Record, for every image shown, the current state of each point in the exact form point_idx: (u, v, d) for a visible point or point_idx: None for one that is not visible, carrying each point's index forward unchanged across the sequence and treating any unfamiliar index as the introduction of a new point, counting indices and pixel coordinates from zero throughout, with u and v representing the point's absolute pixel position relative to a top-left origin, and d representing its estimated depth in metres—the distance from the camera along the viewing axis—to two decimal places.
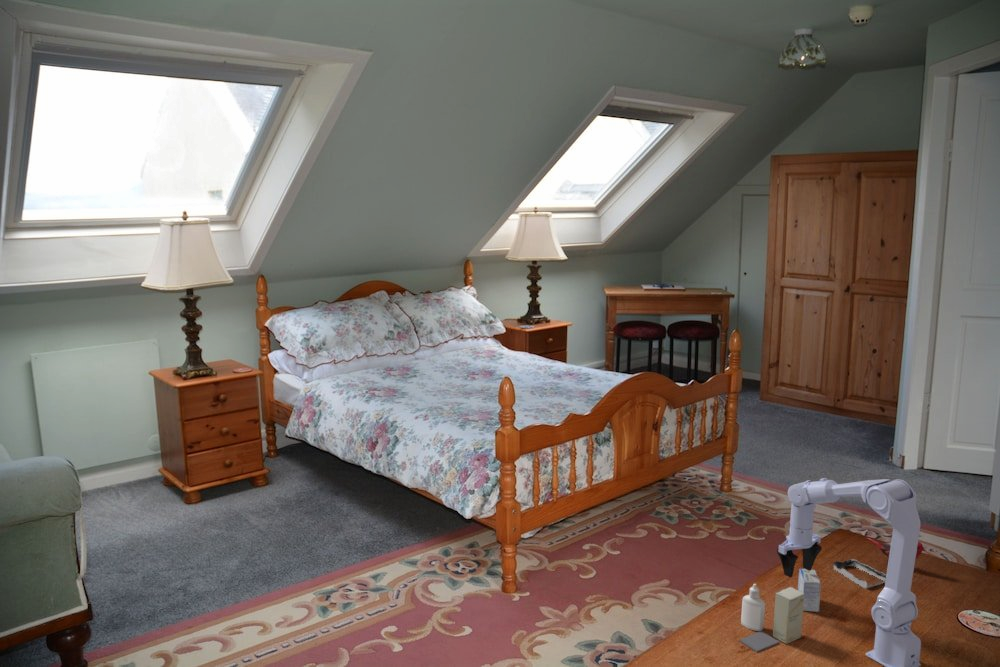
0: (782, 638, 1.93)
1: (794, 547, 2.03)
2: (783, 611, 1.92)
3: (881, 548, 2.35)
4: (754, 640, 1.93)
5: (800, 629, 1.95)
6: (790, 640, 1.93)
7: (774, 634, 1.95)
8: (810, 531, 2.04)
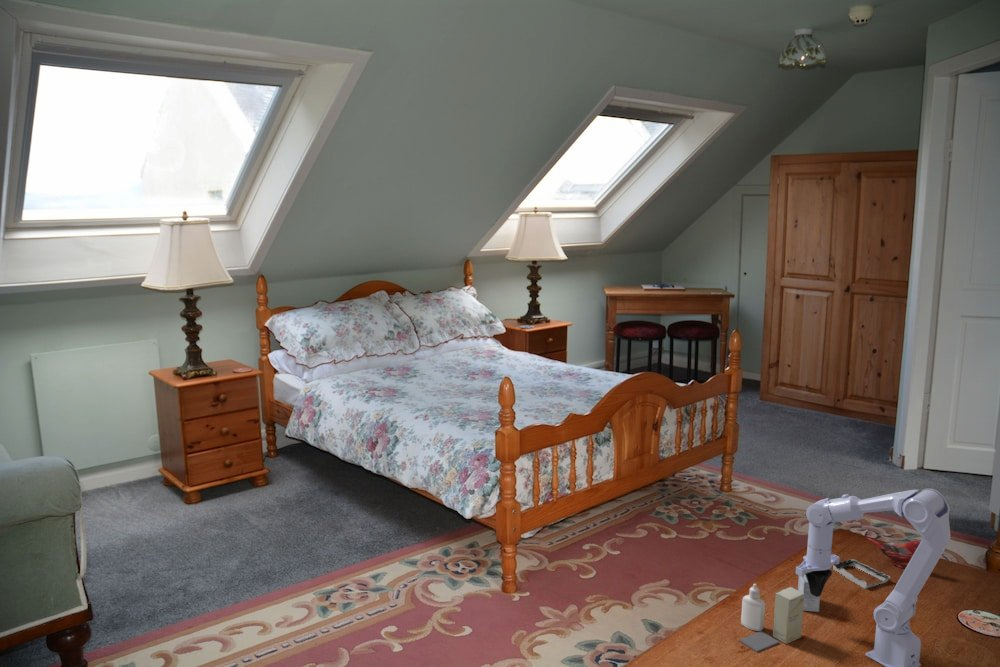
0: (782, 638, 1.93)
1: (812, 569, 1.94)
2: (783, 611, 1.92)
3: (881, 548, 2.35)
4: (754, 640, 1.93)
5: (800, 629, 1.95)
6: (790, 640, 1.93)
7: (774, 634, 1.95)
8: (829, 552, 1.95)
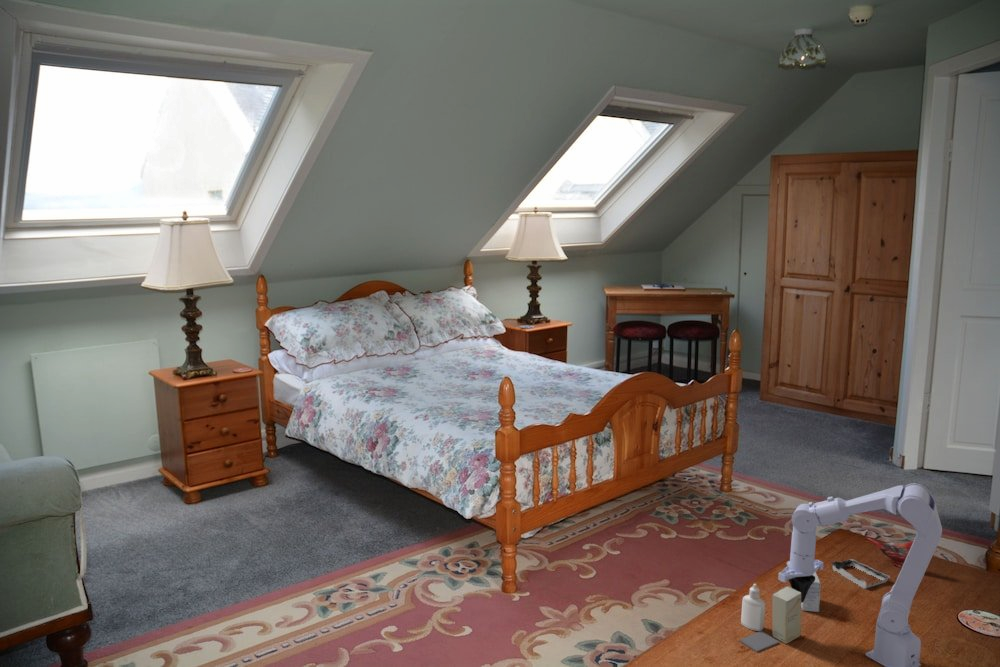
0: (782, 638, 1.93)
1: (795, 575, 1.91)
2: (781, 612, 1.92)
3: (881, 548, 2.35)
4: (754, 640, 1.93)
5: (800, 627, 1.95)
6: (790, 639, 1.93)
7: (774, 634, 1.95)
8: (812, 558, 1.91)
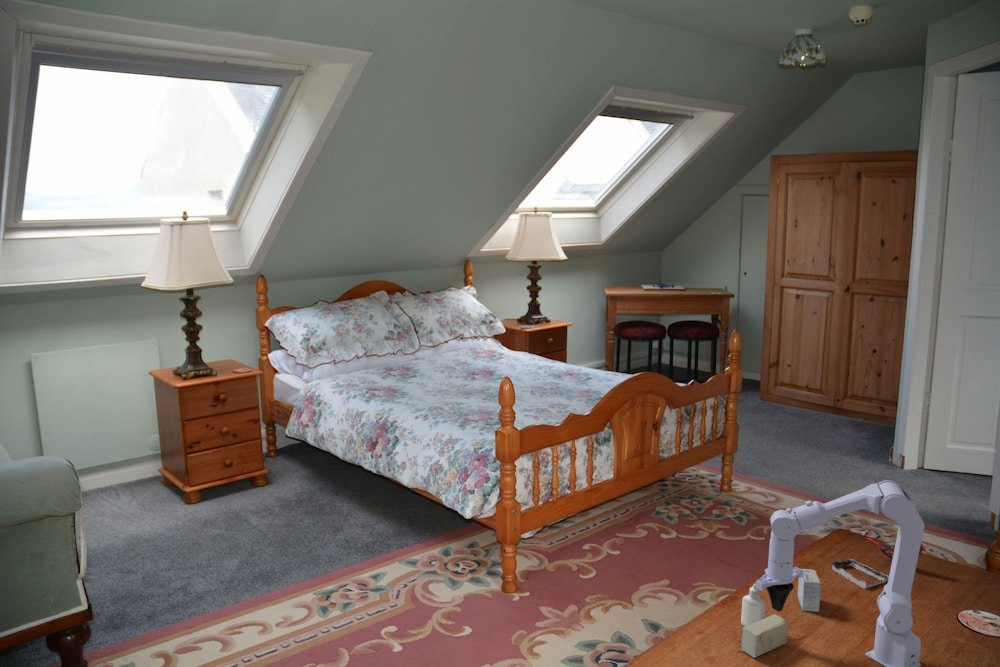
0: None
1: (773, 583, 1.87)
2: None
3: (881, 548, 2.35)
4: None
5: (782, 625, 1.90)
6: (785, 638, 1.92)
7: None
8: (790, 565, 1.88)
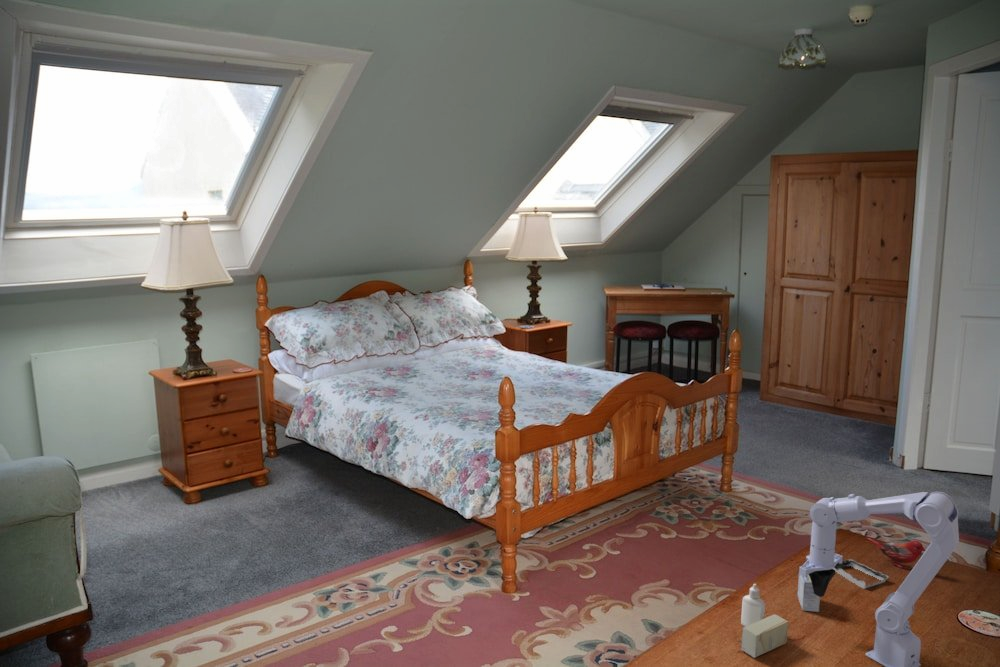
0: None
1: (816, 569, 1.91)
2: None
3: (881, 548, 2.35)
4: None
5: (782, 625, 1.90)
6: (785, 638, 1.92)
7: None
8: (832, 551, 1.92)
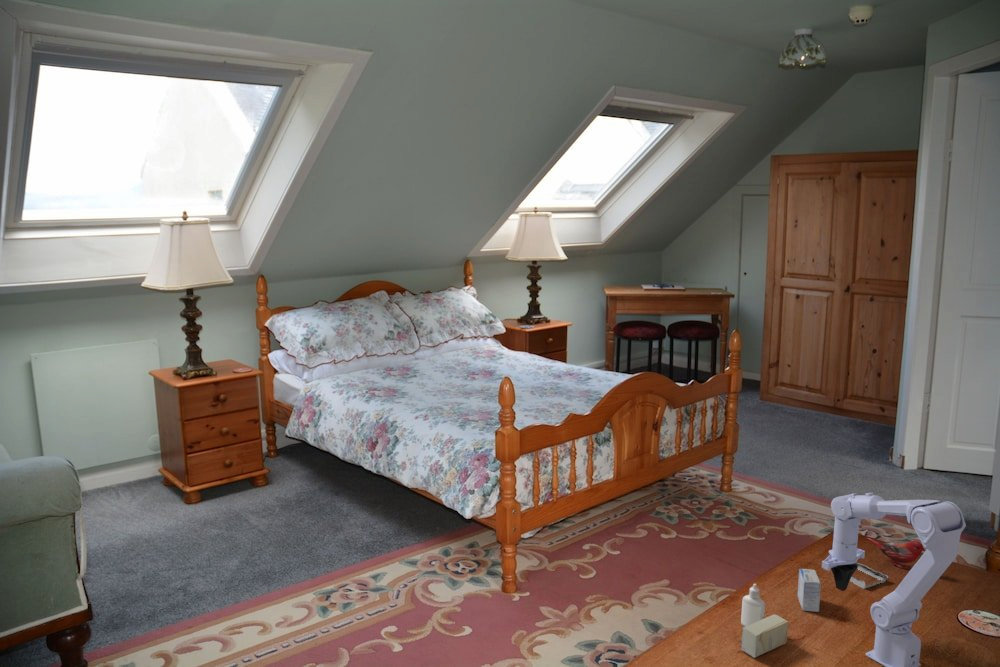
0: None
1: (838, 563, 1.94)
2: None
3: (881, 548, 2.35)
4: None
5: (782, 625, 1.90)
6: (785, 638, 1.92)
7: None
8: (855, 546, 1.95)
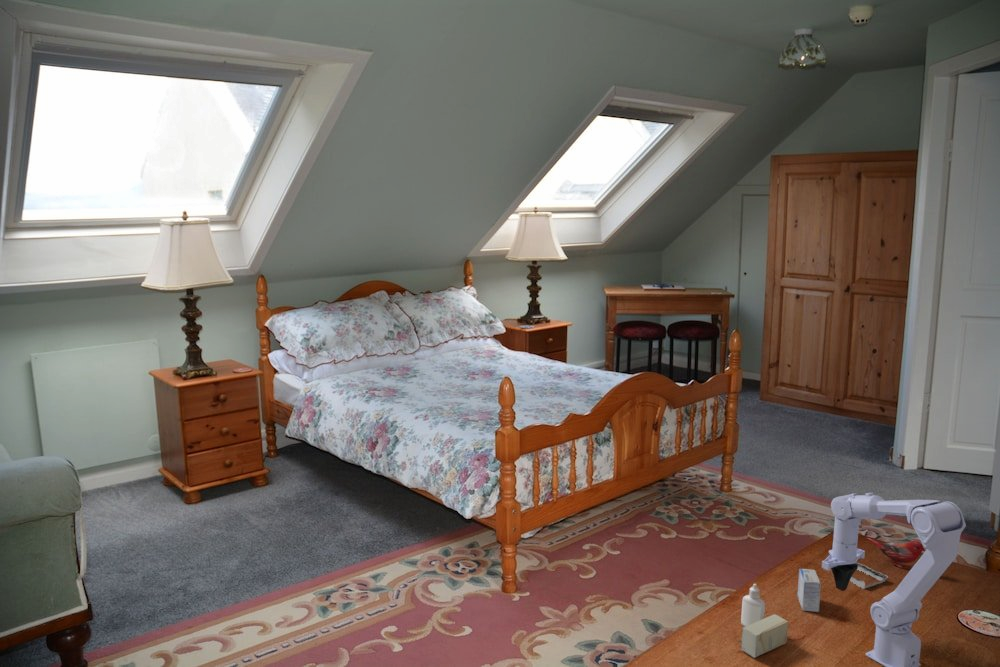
0: None
1: (838, 563, 1.94)
2: None
3: (881, 548, 2.35)
4: None
5: (782, 625, 1.90)
6: (785, 638, 1.92)
7: None
8: (855, 546, 1.95)
